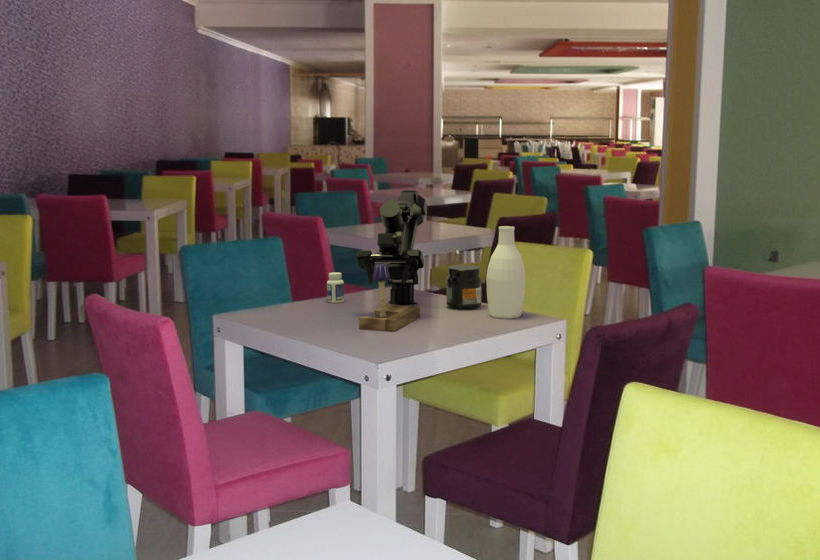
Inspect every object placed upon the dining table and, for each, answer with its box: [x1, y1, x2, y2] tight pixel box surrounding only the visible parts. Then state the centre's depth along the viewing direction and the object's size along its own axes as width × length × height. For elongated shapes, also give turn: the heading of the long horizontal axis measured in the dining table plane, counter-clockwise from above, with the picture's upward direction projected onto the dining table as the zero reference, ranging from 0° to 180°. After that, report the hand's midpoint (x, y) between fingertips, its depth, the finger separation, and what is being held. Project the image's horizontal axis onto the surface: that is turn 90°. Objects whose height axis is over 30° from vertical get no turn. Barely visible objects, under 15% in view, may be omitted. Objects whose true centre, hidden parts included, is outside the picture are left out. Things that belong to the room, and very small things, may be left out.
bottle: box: [485, 225, 527, 319], centre depth 262 cm, size 11×11×25 cm
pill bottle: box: [326, 271, 345, 304], centre depth 286 cm, size 5×5×9 cm
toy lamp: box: [373, 263, 390, 318], centre depth 251 cm, size 5×5×17 cm
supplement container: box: [446, 264, 483, 311], centre depth 276 cm, size 10×10×12 cm
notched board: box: [358, 303, 421, 332], centre depth 255 cm, size 10×20×3 cm, turn 160°
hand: (386, 283), depth 258 cm, fingers open, 9 cm apart
